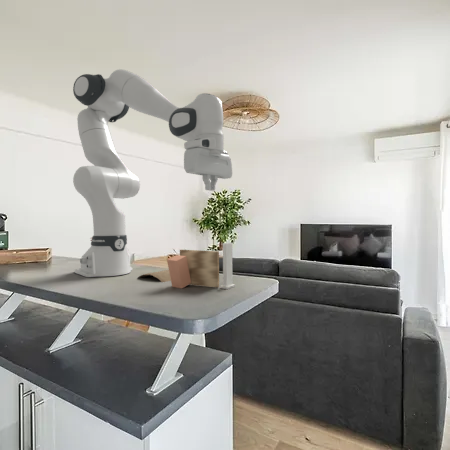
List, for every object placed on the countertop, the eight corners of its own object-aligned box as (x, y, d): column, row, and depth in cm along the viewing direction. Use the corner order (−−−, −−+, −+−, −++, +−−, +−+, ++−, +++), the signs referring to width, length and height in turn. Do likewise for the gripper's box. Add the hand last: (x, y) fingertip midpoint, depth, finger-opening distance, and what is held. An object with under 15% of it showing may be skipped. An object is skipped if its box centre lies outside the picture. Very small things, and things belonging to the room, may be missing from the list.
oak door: (178, 284, 95) (177, 250, 95) (182, 283, 97) (181, 249, 97) (215, 288, 89) (215, 251, 89) (219, 286, 91) (218, 251, 91)
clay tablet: (186, 279, 107) (186, 271, 107) (164, 284, 98) (164, 276, 98) (157, 275, 115) (157, 267, 115) (135, 279, 107) (135, 271, 107)
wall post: (220, 288, 90) (220, 243, 90) (228, 285, 94) (228, 242, 93) (227, 289, 89) (226, 243, 89) (235, 286, 92) (234, 242, 92)
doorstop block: (172, 286, 93) (166, 259, 91) (181, 281, 96) (176, 255, 94) (182, 288, 90) (176, 260, 88) (191, 282, 93) (186, 256, 92)
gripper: (221, 153, 109) (222, 192, 110) (180, 142, 93) (180, 188, 93) (236, 150, 106) (236, 191, 106) (195, 138, 89) (196, 187, 89)
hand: (210, 190), depth 99 cm, fingers closed
